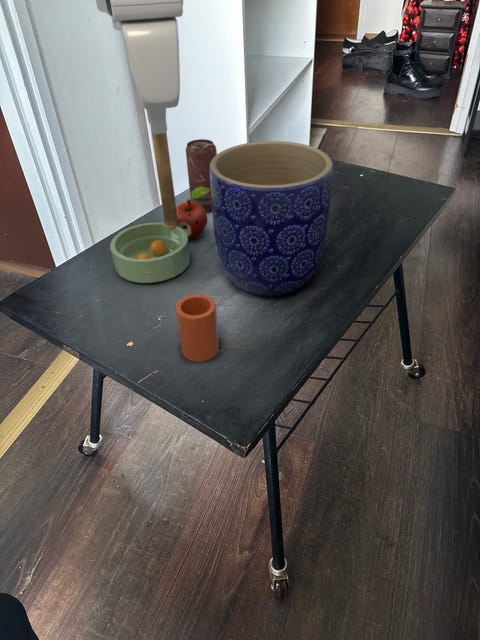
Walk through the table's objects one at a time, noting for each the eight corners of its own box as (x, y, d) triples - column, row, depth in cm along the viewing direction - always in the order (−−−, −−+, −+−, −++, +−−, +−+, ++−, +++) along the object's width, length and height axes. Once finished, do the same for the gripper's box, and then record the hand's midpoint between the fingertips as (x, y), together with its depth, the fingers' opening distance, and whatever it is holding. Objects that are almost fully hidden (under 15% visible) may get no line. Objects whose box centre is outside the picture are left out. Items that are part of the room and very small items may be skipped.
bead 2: (152, 260, 88) (150, 246, 86) (150, 252, 90) (148, 238, 88) (168, 257, 88) (166, 243, 86) (166, 249, 90) (164, 235, 89)
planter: (339, 266, 85) (353, 152, 72) (291, 322, 74) (297, 198, 60) (252, 240, 93) (250, 133, 80) (196, 287, 82) (183, 171, 68)
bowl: (118, 291, 81) (112, 267, 78) (114, 251, 92) (108, 228, 88) (196, 278, 84) (193, 253, 81) (183, 240, 94) (180, 217, 91)
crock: (185, 365, 67) (179, 321, 62) (179, 340, 71) (173, 297, 66) (222, 357, 68) (219, 314, 63) (214, 333, 72) (210, 291, 67)
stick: (166, 232, 65) (144, 82, 53) (164, 226, 66) (142, 78, 54) (179, 230, 65) (160, 80, 53) (177, 224, 66) (158, 77, 54)
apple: (187, 249, 91) (181, 201, 85) (168, 236, 96) (161, 189, 89) (219, 236, 95) (215, 188, 89) (199, 224, 99) (194, 177, 93)
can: (219, 213, 103) (215, 148, 94) (190, 213, 103) (183, 148, 94) (221, 200, 107) (217, 137, 99) (193, 201, 108) (186, 138, 99)
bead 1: (138, 274, 84) (135, 260, 82) (136, 265, 86) (133, 251, 85) (155, 271, 85) (152, 257, 83) (153, 263, 87) (150, 248, 85)
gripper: (103, -19, 55) (125, 106, 64) (110, 0, 40) (138, 161, 49) (157, -22, 56) (172, 102, 65) (184, -5, 41) (198, 154, 50)
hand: (157, 128), depth 57 cm, fingers closed on stick, 2 cm apart
